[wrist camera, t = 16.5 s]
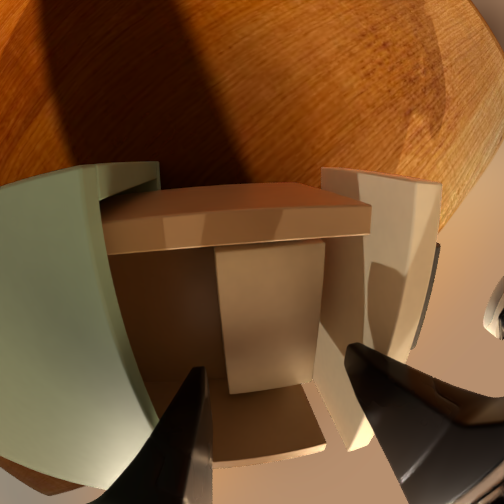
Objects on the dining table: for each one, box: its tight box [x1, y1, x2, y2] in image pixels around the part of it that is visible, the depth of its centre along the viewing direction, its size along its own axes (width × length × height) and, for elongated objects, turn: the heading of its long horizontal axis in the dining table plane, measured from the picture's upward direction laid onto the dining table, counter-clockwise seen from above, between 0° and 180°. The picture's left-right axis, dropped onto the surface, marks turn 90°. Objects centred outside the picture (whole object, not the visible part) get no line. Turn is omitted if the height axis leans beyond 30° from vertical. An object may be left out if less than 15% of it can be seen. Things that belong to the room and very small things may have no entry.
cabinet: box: [0, 161, 161, 490], centre depth 9 cm, size 15×14×9 cm
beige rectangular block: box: [213, 238, 325, 394], centre depth 12 cm, size 7×4×2 cm, turn 2°
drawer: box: [99, 167, 442, 469], centre depth 11 cm, size 18×12×7 cm
